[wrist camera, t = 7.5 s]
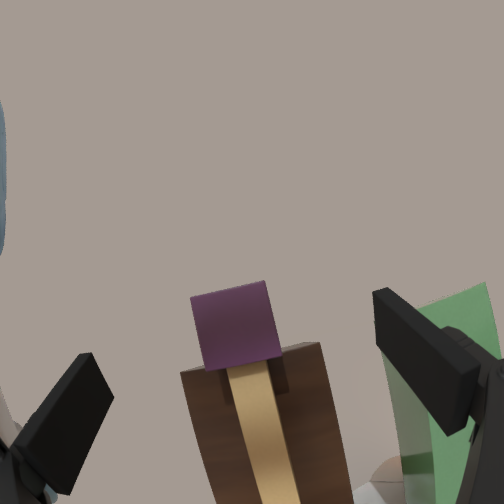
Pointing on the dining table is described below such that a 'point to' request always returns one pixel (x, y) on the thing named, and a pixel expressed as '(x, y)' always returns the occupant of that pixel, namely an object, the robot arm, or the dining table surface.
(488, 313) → the green stand
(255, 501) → the stand
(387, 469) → the dining table surface
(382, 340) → the robot arm
